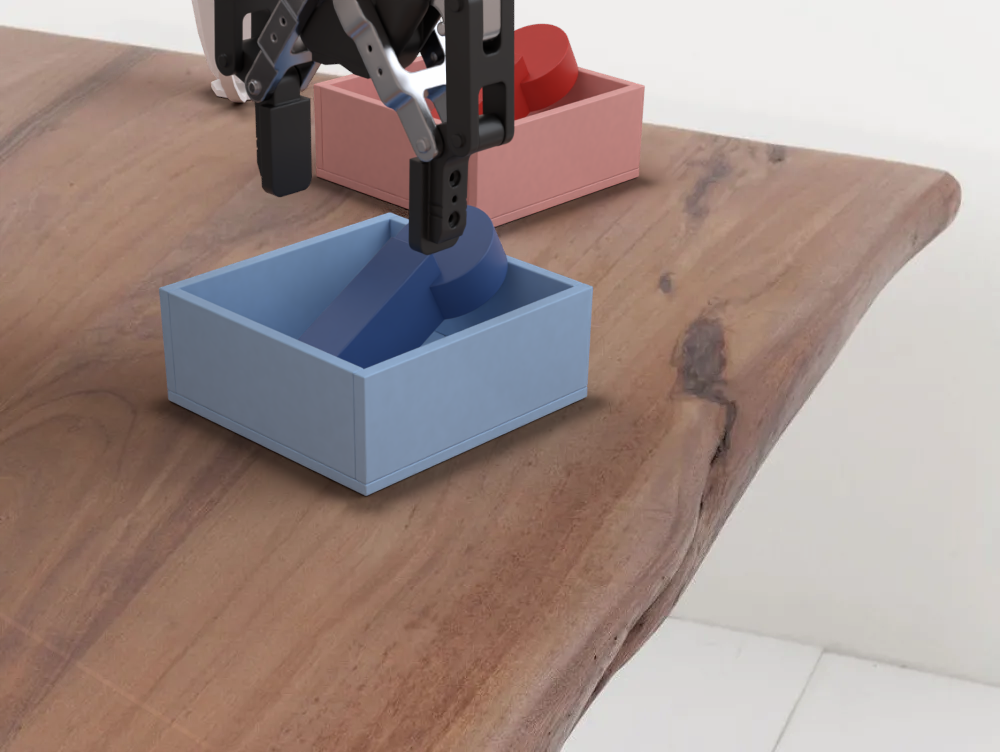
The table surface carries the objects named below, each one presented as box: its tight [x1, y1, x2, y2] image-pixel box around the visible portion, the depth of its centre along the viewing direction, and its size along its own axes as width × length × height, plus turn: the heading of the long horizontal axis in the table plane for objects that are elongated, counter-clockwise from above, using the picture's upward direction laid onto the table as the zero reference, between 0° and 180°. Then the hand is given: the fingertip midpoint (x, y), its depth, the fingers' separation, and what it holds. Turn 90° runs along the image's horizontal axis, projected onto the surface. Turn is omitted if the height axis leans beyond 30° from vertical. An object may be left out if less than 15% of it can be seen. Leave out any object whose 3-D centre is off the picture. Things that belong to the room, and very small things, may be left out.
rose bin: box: [313, 55, 646, 228], centre depth 103 cm, size 12×13×5 cm
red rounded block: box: [431, 23, 579, 121], centre depth 103 cm, size 5×10×3 cm, turn 137°
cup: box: [191, 0, 252, 104], centre depth 113 cm, size 7×10×8 cm
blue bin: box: [158, 211, 594, 497], centre depth 79 cm, size 12×13×5 cm
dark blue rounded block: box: [298, 205, 508, 369], centre depth 79 cm, size 5×10×3 cm, turn 137°
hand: (358, 219), depth 76 cm, fingers open, 8 cm apart
